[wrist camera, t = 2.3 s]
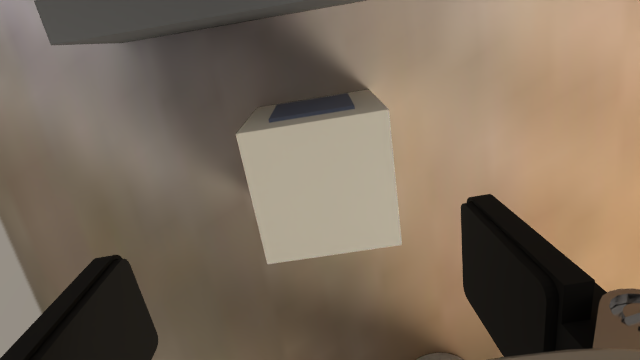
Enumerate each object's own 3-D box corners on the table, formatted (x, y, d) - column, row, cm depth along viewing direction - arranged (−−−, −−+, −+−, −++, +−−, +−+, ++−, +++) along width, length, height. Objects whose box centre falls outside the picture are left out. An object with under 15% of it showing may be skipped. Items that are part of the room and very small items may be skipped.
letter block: (368, 86, 20) (388, 105, 15) (380, 192, 22) (401, 244, 17) (256, 104, 20) (234, 130, 15) (279, 207, 23) (267, 264, 17)
